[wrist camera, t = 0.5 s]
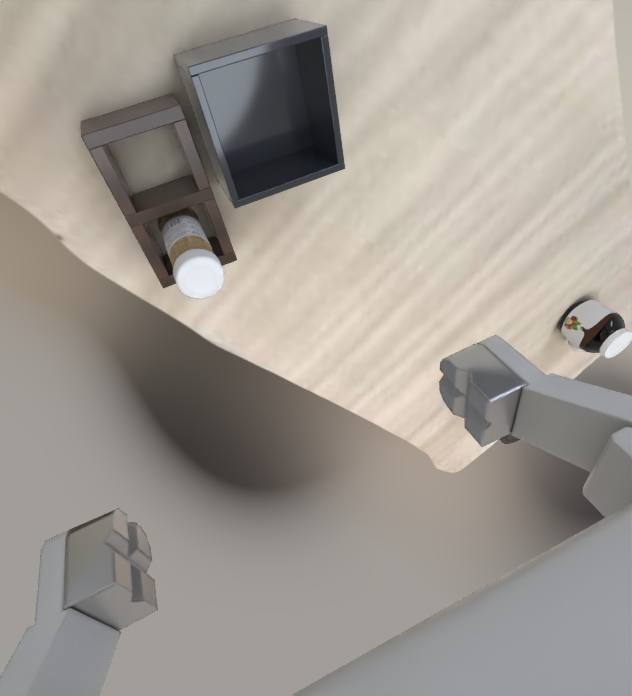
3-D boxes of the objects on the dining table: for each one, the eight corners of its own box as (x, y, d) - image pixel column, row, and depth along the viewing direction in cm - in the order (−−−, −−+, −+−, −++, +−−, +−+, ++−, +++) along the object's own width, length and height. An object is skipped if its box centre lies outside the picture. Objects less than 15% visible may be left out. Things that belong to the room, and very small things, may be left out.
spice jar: (169, 246, 51) (189, 308, 41) (149, 211, 47) (166, 270, 38) (204, 230, 51) (232, 288, 42) (187, 195, 48) (214, 249, 39)
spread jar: (581, 291, 92) (630, 322, 84) (604, 302, 98) (651, 331, 90) (544, 335, 97) (586, 368, 89) (567, 342, 104) (609, 374, 96)
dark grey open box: (173, 54, 40) (187, 67, 34) (295, 18, 42) (326, 25, 36) (218, 182, 48) (234, 208, 43) (317, 148, 50) (345, 168, 45)
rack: (80, 121, 40) (80, 135, 37) (171, 93, 41) (180, 104, 38) (157, 267, 52) (163, 288, 48) (226, 241, 53) (237, 260, 50)
